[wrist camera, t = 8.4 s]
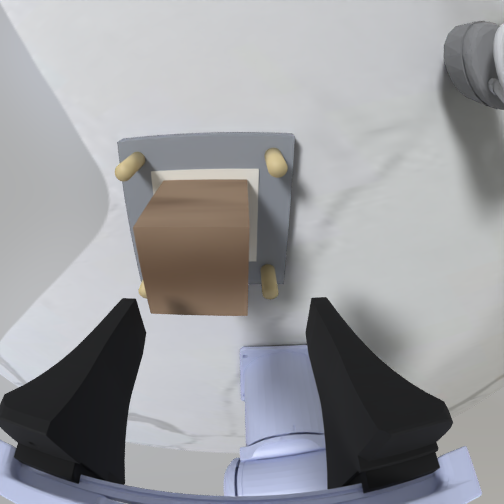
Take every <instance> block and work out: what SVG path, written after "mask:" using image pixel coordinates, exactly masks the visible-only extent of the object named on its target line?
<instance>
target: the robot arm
mask: <svg viewBox="0 0 504 504" xmlns="http://www.w3.org/2000/svg"><path fill="white" fill-rule="evenodd" d="M145 337H146V331H145V328H144V324H143V321H142V318H141V315H140V311H139V308H138V305H137V301H136V299H128V298H123V299H122V300H121V301H120V302H119V303H118V304H117V305H116V306H115V307H114V308H113V309H112V310H111V311H110V313H109V314H108V315H107V316H106V317H105V318H104V319H103V320H102V321H101V322H100V324H99V325H98V326H97V327H96V328H95V329H94V330H93V331H92V332H91V333H90V334H89V335H88V336H87V337H86V338H85V339H84V340H83V341H82V342H81V343H80V344H79V345H78V346H77V347H76V348H75V349H74V350H73V351H72V352H70V353H69V354H68V355H67V356H66V357H64V358H63V359H62V360H61V361H60V362H58V363H57V364H56V365H54V366H53V367H51V368H50V369H49V370H47V371H46V372H45V373H43V374H42V375H40V376H38V377H37V378H35V379H34V380H32V381H30V382H28V383H27V384H25V385H23V386H21V387H19V388H17V389H15V390H13V391H11V392H9V393H7V394H5V395H4V397H3V399H2V401H1V404H0V427H1V428H2V429H3V430H4V431H5V432H6V433H7V434H8V435H9V436H11V437H12V438H13V439H14V440H16V441H17V442H18V445H17V448H15V447H14V446H12V445H10V444H8V443H6V442H4V441H2V440H0V495H1V496H3V497H5V498H7V499H9V500H10V501H12V502H14V503H16V504H124V503H128V504H467V503H468V502H470V501H472V500H474V499H476V498H478V497H480V496H481V495H482V492H481V488H480V485H479V482H478V479H477V476H476V473H475V469H474V467H473V463H472V461H471V458H470V455H469V452H468V449H467V447H466V446H463V447H461V448H458V449H456V450H453V451H451V452H448V453H446V454H444V455H442V456H440V457H438V458H437V456H436V453H435V452H436V451H438V446H437V443H436V441H438V440H439V439H440V438H441V437H442V436H443V435H444V434H445V433H446V432H447V431H448V430H449V429H450V428H451V426H452V424H453V421H452V418H451V416H450V413H449V410H448V408H447V406H446V404H445V402H444V401H442V400H440V399H438V398H436V397H434V396H432V395H430V394H428V393H426V392H425V391H423V390H421V389H420V388H418V387H416V386H415V385H413V384H411V383H410V382H408V381H407V380H406V379H404V378H403V377H401V376H400V375H399V374H397V373H396V372H395V371H393V370H392V369H391V368H390V367H388V366H387V365H386V364H385V363H384V362H382V361H381V360H380V359H379V358H378V357H377V356H376V355H375V354H374V353H373V352H372V351H371V350H370V349H369V348H368V347H367V346H366V345H365V344H364V343H363V342H362V341H361V340H360V339H359V337H358V336H357V335H356V334H355V333H354V332H353V330H352V329H351V328H350V327H349V326H348V325H347V323H346V322H345V321H344V320H343V318H342V317H341V316H340V314H339V313H338V312H337V311H336V309H335V308H334V307H333V305H332V304H331V303H330V301H329V300H328V299H327V298H326V297H321V298H311V304H310V310H309V316H308V322H307V328H306V340H307V345H293V346H261V347H242V348H241V349H240V382H241V400H242V401H245V425H246V447H241V448H240V458H235V459H233V460H232V461H231V463H230V465H229V466H228V467H227V469H226V472H225V476H224V496H208V495H193V494H182V493H172V492H164V491H156V490H149V489H143V488H137V487H132V486H127V485H124V484H125V467H124V465H125V464H124V459H125V458H124V457H125V437H126V426H127V417H128V410H129V403H130V399H131V394H132V391H133V387H134V383H135V380H136V376H137V373H138V369H139V366H140V362H141V359H142V355H143V350H144V344H145ZM113 500H114V501H113ZM117 501H118V502H117ZM120 502H123V503H120Z"/></svg>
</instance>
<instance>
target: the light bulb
mask: <svg viewBox="0 0 504 504" xmlns="http://www.w3.org/2000/svg"><path fill="white" fill-rule="evenodd" d="M444 62H445V65H446V68H447V72H448V74H449V76H450V78H451V80H452V82H453V84H454V85H455V86H456V88H457V89H458V90H459V91H460V92H461V93H462V94H463V95H464V96H466V97H468V98H470V99H472V100H475V101H477V102H479V103H481V104H483V105H486V106H489V107H492V108H496V109H501V110H504V24H502V25H501V26H499V25H497V24H495V23H491V22H485V21H478V22H472V23H468V24H464V25H460V26H456V27H455V28H454V29H453V30H452V31H451V32H450V33H449V34H448V36H447V39H446V41H445V44H444Z"/></svg>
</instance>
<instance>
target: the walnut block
mask: <svg viewBox="0 0 504 504" xmlns="http://www.w3.org/2000/svg"><path fill="white" fill-rule="evenodd" d="M133 231H134V237H135V242H136V248H137V253H138V258H139V263H140V268H141V273H142V277H143V282H144V286H145V291H146V295H147V299H148V304H149V308H150V312H151V313H153V314H177V315H218V316H247V313H248V273H249V234H250V224H249V204H248V185H247V179H202V180H163V182H162V183H161V185H160V186H159V188H158V189H157V191H156V192H155V194H154V195H153V197H152V198H151V200H150V201H149V203H148V204H147V206H146V207H145V209H144V210H143V212H142V214H141V215H140V217H139V218H138V220H137V222H136V223H135V225H134V226H133Z"/></svg>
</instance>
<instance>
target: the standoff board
mask: <svg viewBox="0 0 504 504" xmlns="http://www.w3.org/2000/svg"><path fill="white" fill-rule="evenodd" d="M294 143H295V136H294V135H293V134H292V133H260V132H222V133H190V134H172V135H158V136H146V137H135V138H125V139H122V140H120V141H119V142H117V144H118V153H119V161H120V164H119V165H118V166H117V167H116V169H115V175H116V177H117V179H119V180H120V181H122V183H123V190H124V197H125V203H126V209H127V215H128V220H129V226H130V231H131V236H132V242H133V247H134V251H135V256H136V261H137V265H138V270H139V274H140V279H141V285H140V288H139V294H140V295H141V296H142V297H143V298H147V295H146V291H145V286H144V282H143V277H142V273H141V268H140V263H139V258H138V253H137V248H136V242H135V237H134V231H133V226H134V225H135V223H136V222H137V220H138V218H139V217H140V215H141V214H142V212H143V210H144V209H145V207H146V206H147V204H148V203H149V201H150V200H151V198H152V197H153V195H154V194H155V192H156V191H157V189H158V188H159V186H160V185H161V183H162V182H163V180H202V179H247V185H248V204H249V224H250V234H249V273H248V284H262V294H263V297H264V298H266V299H274V298H276V297H277V296H278V287H277V284H284V274H285V263H286V252H287V240H288V228H289V216H290V203H291V189H292V175H293V159H294Z"/></svg>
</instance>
